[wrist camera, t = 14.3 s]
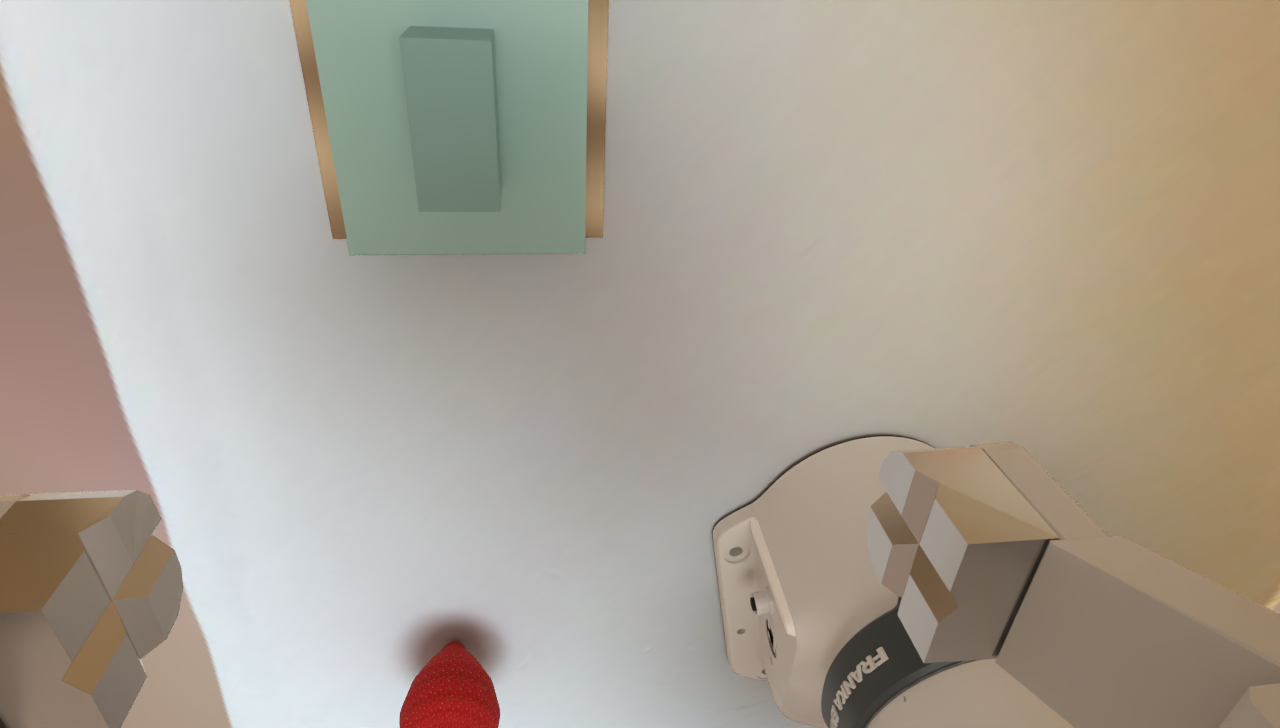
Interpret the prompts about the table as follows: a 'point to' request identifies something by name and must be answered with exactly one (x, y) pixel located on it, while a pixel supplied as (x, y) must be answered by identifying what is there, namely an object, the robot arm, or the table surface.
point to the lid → (456, 123)
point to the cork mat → (595, 115)
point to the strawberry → (451, 693)
